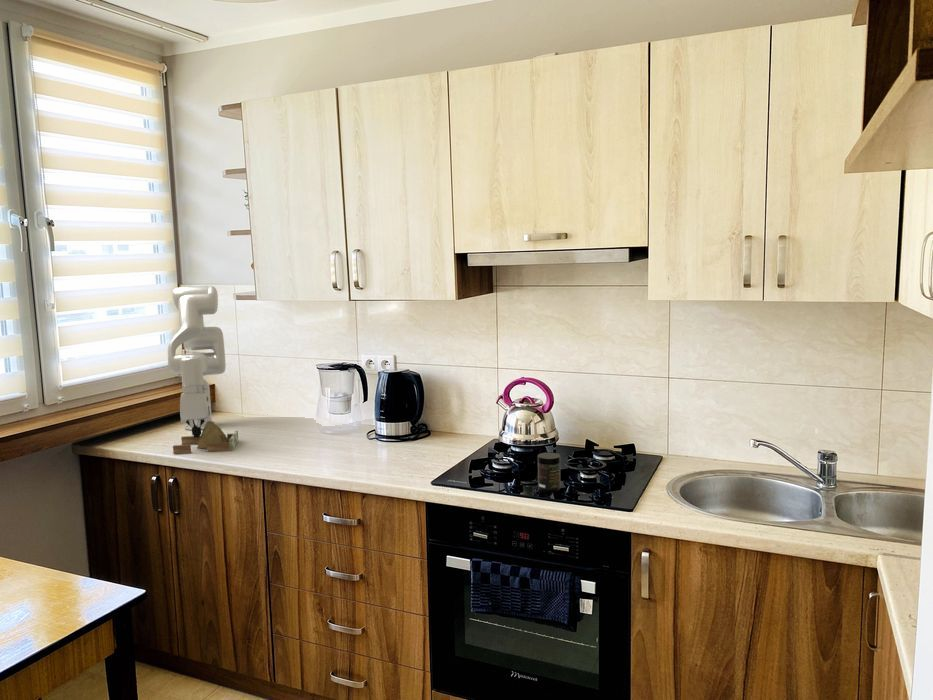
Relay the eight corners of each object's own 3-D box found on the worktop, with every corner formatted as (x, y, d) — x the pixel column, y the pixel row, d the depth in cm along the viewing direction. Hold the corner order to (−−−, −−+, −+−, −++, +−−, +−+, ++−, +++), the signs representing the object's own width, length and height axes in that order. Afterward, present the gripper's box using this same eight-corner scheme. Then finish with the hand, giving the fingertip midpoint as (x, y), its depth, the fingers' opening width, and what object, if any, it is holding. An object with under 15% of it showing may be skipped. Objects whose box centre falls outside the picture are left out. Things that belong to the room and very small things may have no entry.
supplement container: (565, 488, 214) (564, 455, 213) (551, 494, 209) (551, 460, 208) (546, 484, 219) (546, 451, 217) (533, 489, 214) (533, 456, 212)
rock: (236, 438, 273) (219, 432, 278) (226, 424, 267) (208, 418, 272) (217, 460, 267) (200, 453, 272) (206, 446, 261) (189, 439, 266)
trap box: (186, 440, 282) (185, 430, 281) (240, 436, 285) (240, 427, 284) (173, 454, 262) (172, 443, 261) (232, 450, 265) (231, 439, 265)
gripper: (216, 386, 271) (219, 433, 274) (175, 388, 269) (178, 435, 272) (211, 390, 264) (215, 438, 266) (169, 392, 262) (173, 440, 264)
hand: (196, 436), depth 269 cm, fingers closed
